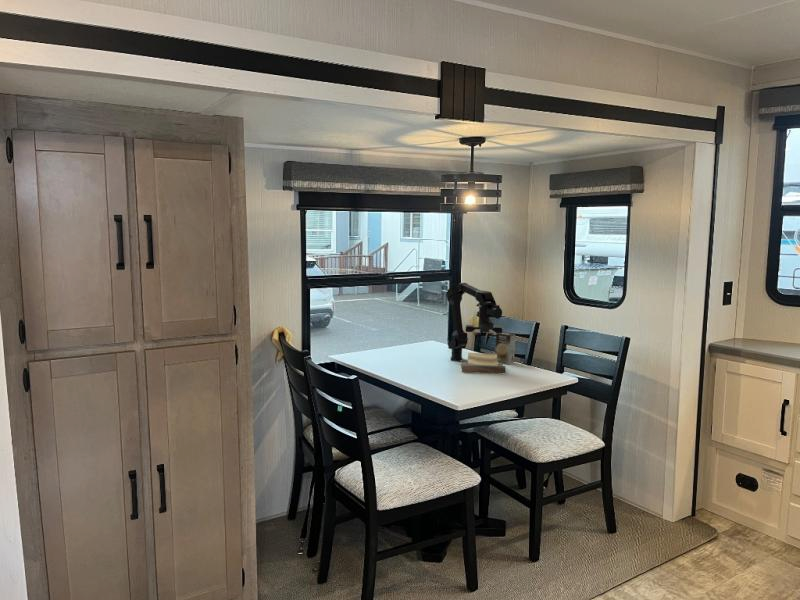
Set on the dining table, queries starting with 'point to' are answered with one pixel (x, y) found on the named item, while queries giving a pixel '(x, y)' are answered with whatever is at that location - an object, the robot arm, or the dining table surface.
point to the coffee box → (505, 347)
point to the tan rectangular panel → (482, 359)
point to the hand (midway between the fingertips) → (483, 345)
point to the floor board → (482, 368)
